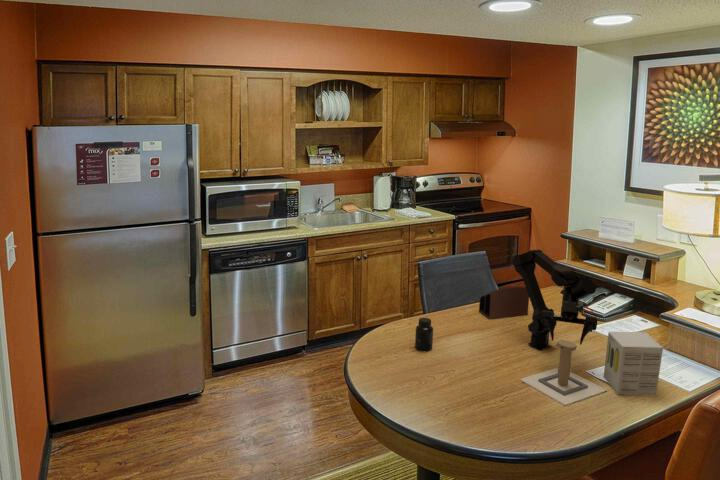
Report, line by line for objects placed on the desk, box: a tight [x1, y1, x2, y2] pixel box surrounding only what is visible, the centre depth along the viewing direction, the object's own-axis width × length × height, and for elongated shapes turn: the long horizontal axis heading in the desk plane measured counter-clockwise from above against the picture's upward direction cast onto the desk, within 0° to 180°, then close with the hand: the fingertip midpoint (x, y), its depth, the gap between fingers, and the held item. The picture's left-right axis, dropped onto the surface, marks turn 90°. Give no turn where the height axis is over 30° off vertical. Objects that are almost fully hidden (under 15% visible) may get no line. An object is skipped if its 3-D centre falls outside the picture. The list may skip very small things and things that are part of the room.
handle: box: [556, 339, 578, 386], centre depth 199 cm, size 5×6×15 cm
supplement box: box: [603, 331, 664, 396], centre depth 199 cm, size 13×13×18 cm
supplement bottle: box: [414, 317, 434, 352], centre depth 228 cm, size 7×7×12 cm
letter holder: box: [478, 286, 530, 320], centre depth 266 cm, size 10×20×14 cm, turn 108°
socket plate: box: [519, 367, 608, 407], centre depth 200 cm, size 20×20×1 cm
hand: (566, 342), depth 204 cm, fingers open, 9 cm apart
